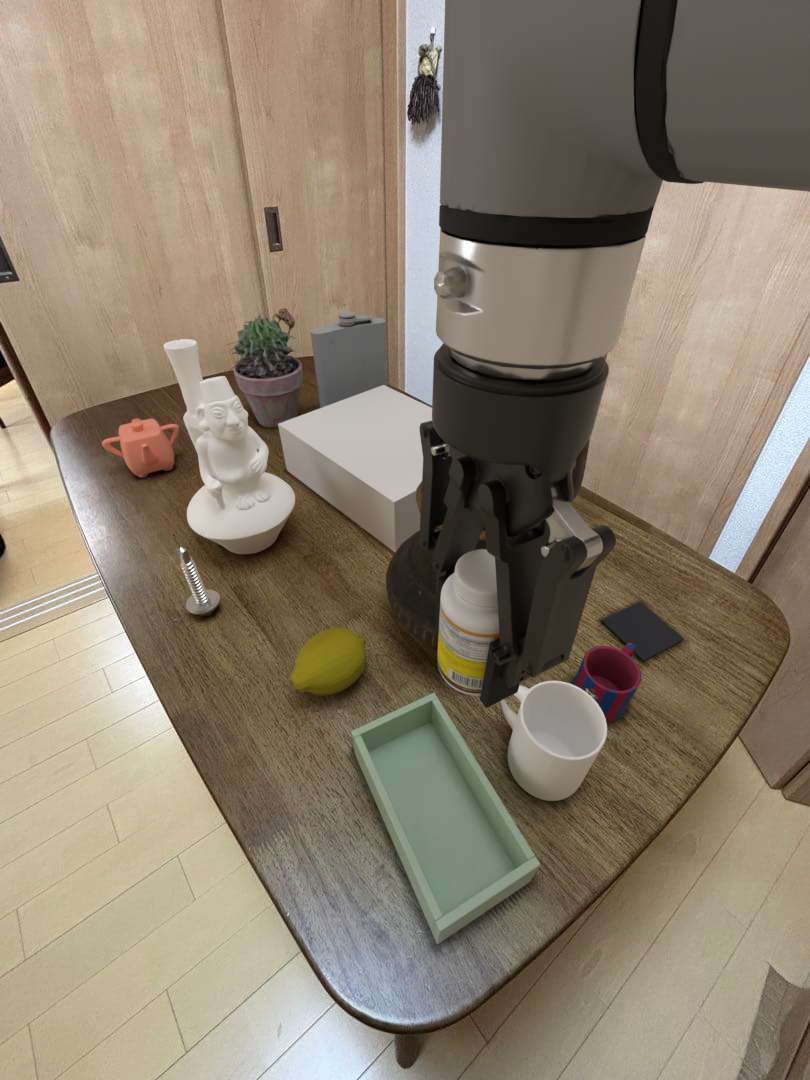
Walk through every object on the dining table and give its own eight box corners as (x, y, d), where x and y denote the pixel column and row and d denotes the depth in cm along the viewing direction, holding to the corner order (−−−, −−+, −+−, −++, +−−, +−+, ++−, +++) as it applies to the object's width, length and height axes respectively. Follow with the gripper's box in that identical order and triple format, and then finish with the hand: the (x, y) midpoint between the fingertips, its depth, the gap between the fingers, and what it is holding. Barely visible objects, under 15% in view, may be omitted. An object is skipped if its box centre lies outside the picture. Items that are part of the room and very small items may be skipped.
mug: (520, 696, 62) (535, 646, 55) (597, 772, 55) (625, 726, 48) (471, 733, 59) (480, 685, 52) (546, 821, 51) (568, 778, 44)
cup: (559, 694, 63) (571, 664, 58) (605, 655, 67) (619, 624, 63) (603, 733, 59) (620, 704, 54) (649, 688, 63) (667, 658, 59)
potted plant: (219, 422, 119) (189, 315, 102) (282, 396, 130) (264, 296, 113) (265, 447, 110) (240, 334, 93) (328, 416, 121) (316, 310, 104)
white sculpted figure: (213, 586, 77) (140, 398, 56) (184, 515, 91) (117, 342, 70) (316, 548, 84) (286, 367, 63) (274, 487, 98) (238, 322, 77)
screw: (223, 619, 72) (189, 625, 71) (223, 595, 76) (190, 602, 75) (198, 555, 64) (159, 562, 63) (199, 533, 67) (163, 539, 66)
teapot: (106, 473, 102) (85, 430, 95) (147, 446, 110) (131, 405, 103) (160, 487, 98) (142, 443, 91) (198, 458, 106) (185, 416, 100)
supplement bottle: (490, 629, 39) (507, 532, 32) (524, 687, 35) (551, 590, 28) (425, 646, 38) (429, 550, 31) (452, 709, 34) (463, 613, 27)
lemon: (355, 641, 69) (351, 604, 64) (382, 681, 64) (380, 645, 59) (284, 675, 65) (273, 639, 60) (306, 722, 60) (297, 687, 55)
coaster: (683, 640, 69) (684, 639, 69) (642, 662, 66) (643, 660, 66) (639, 603, 74) (640, 601, 74) (600, 621, 72) (601, 619, 71)
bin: (530, 881, 47) (540, 864, 44) (437, 944, 44) (440, 931, 40) (432, 715, 60) (434, 692, 57) (354, 753, 57) (351, 731, 53)
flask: (382, 407, 125) (378, 304, 108) (390, 415, 121) (387, 309, 105) (319, 423, 118) (304, 316, 102) (326, 431, 115) (312, 322, 99)
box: (384, 428, 116) (383, 384, 109) (497, 490, 97) (504, 442, 90) (286, 470, 103) (277, 423, 95) (395, 552, 83) (394, 502, 76)
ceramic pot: (366, 581, 78) (357, 462, 63) (499, 545, 84) (518, 430, 70) (424, 712, 61) (430, 591, 46) (585, 654, 67) (635, 532, 52)
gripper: (356, 304, 26) (376, 597, 41) (622, 474, 13) (508, 805, 28) (473, 286, 28) (451, 568, 43) (789, 415, 16) (602, 747, 31)
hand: (473, 661), depth 36 cm, fingers closed on supplement bottle, 6 cm apart
